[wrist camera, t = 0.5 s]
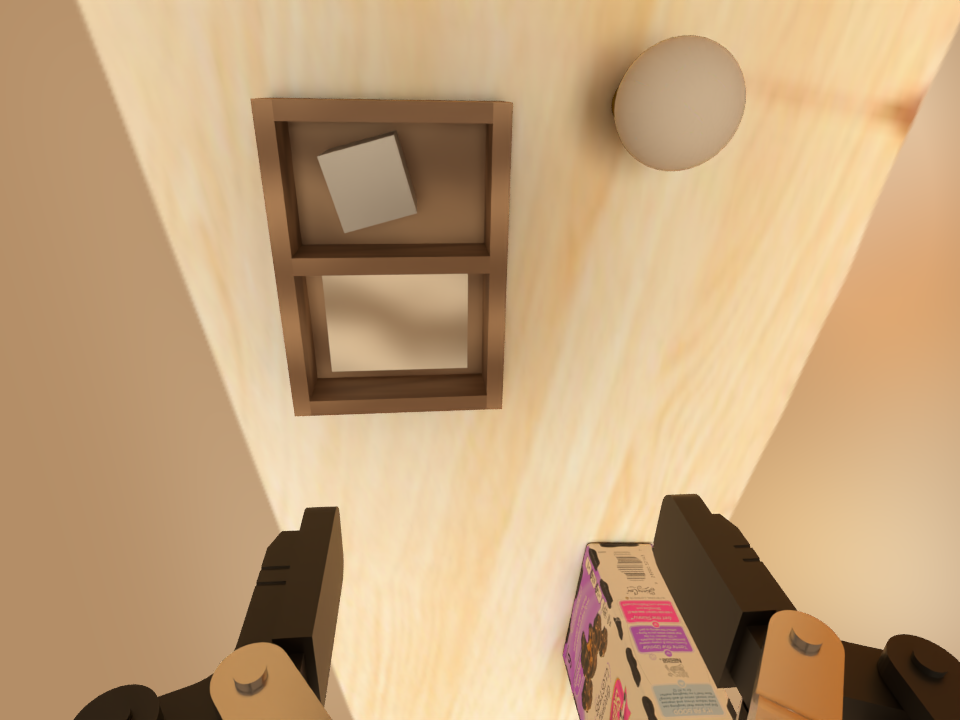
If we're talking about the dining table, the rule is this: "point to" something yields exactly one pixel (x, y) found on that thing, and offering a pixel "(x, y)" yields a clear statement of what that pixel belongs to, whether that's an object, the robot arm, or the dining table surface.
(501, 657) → the dining table surface
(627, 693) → the candy box
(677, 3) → the dining table surface
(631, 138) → the light bulb
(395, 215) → the grey cube
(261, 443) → the dining table surface
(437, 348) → the box
